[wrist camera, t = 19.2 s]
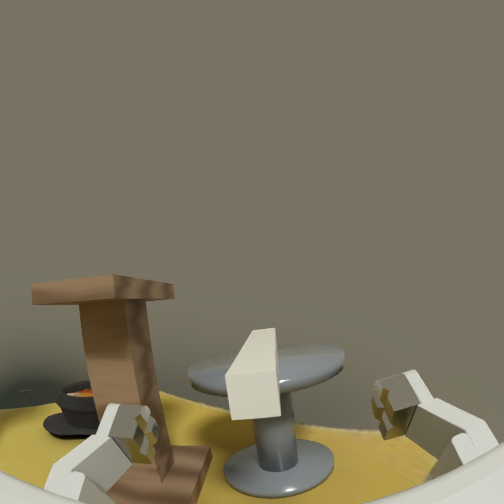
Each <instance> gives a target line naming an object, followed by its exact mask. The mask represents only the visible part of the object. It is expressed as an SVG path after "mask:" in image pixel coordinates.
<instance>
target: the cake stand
mask: <svg viewBox="0 0 504 504" xmlns="http://www.w3.org/2000/svg"><path fill="white" fill-rule="evenodd" d="M277 351H278V368H279V386H280V405H281V416H277V417H267V418H256V419H252V422H253V428H254V435H255V442H256V444H254V445H251V446H249V447H246V448H244V449H242V450H240V451H238V452H236V453H235V454H233V455H232V456H231V457H230V458H229V459H228V460H227V462H226V463H225V466H224V474H225V478H226V481H227V482H228V484H229V485H230V486H231V487H232V488H233V489H235V490H236V491H238V492H240V493H242V494H245V495H248V496H252V497H258V498H270V499H271V498H284V497H290V496H295V495H298V494H302V493H304V492H307V491H309V490H311V489H313V488H315V487H317V486H319V485H320V484H322V483H323V482H324V481H325V480H326V479H327V478H328V477H329V476H330V474H331V473H332V471H333V468H334V457H333V454H332V452H331V450H330V449H329V448H327V447H326V446H324V445H323V444H320V443H318V442H314V441H310V440H303V439H296V433H295V423H294V414H293V405H292V395H291V392H294V391H298V390H302V389H305V388H309V387H312V386H315V385H317V384H320V383H323V382H325V381H327V380H329V379H331V378H333V377H334V376H336V375H337V374H339V373H340V372H341V371H342V370H343V368H344V366H345V362H344V350H343V349H342V348H340V347H337V346H333V345H326V344H297V345H283V346H277ZM239 352H240V351H238V352H233V353H228V354H223V355H219V356H215V357H211V358H208V359H205V360H202V361H199V362H197V363H195V364H193V365H192V366H190V368H189V369H188V374H189V380H190V385H191V386H192V388H194V389H195V390H197V391H199V392H202V393H205V394H209V395H214V396H222V397H228V393H227V387H226V380H225V374H226V373H227V371H228V370H229V368H230V367H231V365H232V363H233V362H234V360H235V359H236V357H237V355H238V354H239Z"/></svg>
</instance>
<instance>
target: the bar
mask: <svg viewBox="0 0 504 504" xmlns="http://www.w3.org/2000/svg"><path fill="white" fill-rule="evenodd" d="M225 380H226V387H227V393H228V400H229V406H230V413H231V419H232V420H243V419H256V418H267V417H277V416H281V405H280V386H279V368H278V351H277V342H276V333H275V328H269V329H261V330H253V331H252V333H251V334H250V336H249V338H248V339H247V341H246V343H245V344H244V346H243V347H242V349H241V351H240V352H239V354H238V355H237V357H236V359H235V360H234V362H233V363H232V365H231V367H230V368H229V370H228V371H227V373H226V374H225Z"/></svg>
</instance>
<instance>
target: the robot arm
mask: <svg viewBox="0 0 504 504" xmlns="http://www.w3.org/2000/svg"><path fill="white" fill-rule="evenodd" d="M374 388H375V390H376V392H375V393H374V394H373V395H372V401H371V402H372V410H373V414H374V416H375V418H376V419H377V420H379V421H380V425H379V429H380V432H381V434H382V437H383V439H384V441H385V440H388V439H392V438H395V437H399V436H402V435H405V434H406V435H405V436H406V437H408V438H409V439H410V440H412V441H413V442H414V443H416V444H417V445H419V446H420V447H421V448H423V449H424V450H426V451H427V452H428V453H430V454H431V455H433V456H434V457H435V458H437V459H438V461H437V462H436V463H435V465H434V466H433V468H432V469H431V471H430V474H431V477H432V480H430V481H427V482H424V483H422V484H419V485H417V486H414V487H412V488H409V489H406V490H404V491H401V492H398V493H395V494H392V495H389V496H386V497H383V498H379V499H376V500H373V501H369V502H365V503H362V504H504V442H502V443H501V444H498V442H497V440H496V439H495V437H494V435H493V434H492V432H491V431H490V429H489V428H488V426H487V424H486V422H485V421H484V420H482V419H480V418H478V417H475V416H473V415H471V414H469V413H467V412H465V411H463V410H461V409H459V408H457V407H454V406H452V405H450V404H448V403H446V402H444V401H442V400H440V399H438V398H436V399H433V397H432V395H431V394H430V392H429V390H428V389H427V387H426V385H425V384H424V382H423V381H422V379H421V377H420V376H419V374H418V373H417V371H416V370H411V371H407V372H404V373H400V374H396V375H393V376H389V377H385V378H382V379H378V380H377V381H376V382H375V385H374ZM150 412H151V411H150V410H149V408H148V406H143V405H128V404H115V403H110V404H109V405H108V406H107V407H106V410H105V412H104V415H103V417H102V420H101V422H100V425H99V427H98V430H97V433H96V435H91V436H90V437H89V438H87V439H86V440H85V441H84V442H82V443H81V444H80V445H78V446H77V447H76V448H74V449H73V450H72V451H70V452H69V453H68V454H66V455H65V456H64V457H63V458H61V459H60V460H59V461H57V462H56V463H55V464H53V466H52V469H51V471H50V474H49V476H48V479H47V482H46V484H45V487H44V489H42V488H39V487H37V486H34V485H32V484H29V483H27V482H25V481H22V480H20V479H18V478H16V477H13V476H11V475H9V474H7V473H5V472H3V471H1V470H0V504H116V503H115V501H114V500H113V499H112V498H110V497H109V496H108V495H107V494H106V492H107V491H108V490H109V489H110V488H111V487H112V486H113V485H114V484H115V483H116V482H117V480H118V479H119V478H120V477H121V476H122V475H123V474H124V473H125V472H126V471H127V469H128V468H129V467H130V466H131V465H132V463H140V464H153V460H154V455H155V449H154V447H153V445H154V444H155V443H156V442H157V441H158V436H159V430H158V425H157V422H156V420H155V419H154V418H153V417H151V416H150Z"/></svg>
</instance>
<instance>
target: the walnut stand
mask: <svg viewBox="0 0 504 504" xmlns="http://www.w3.org/2000/svg"><path fill="white" fill-rule="evenodd" d="M31 290H32V304H33V305H79V310H80V320H81V328H82V336H83V343H84V350H85V356H86V362H87V368H88V374H89V379H90V384H91V389H92V393H93V398H94V402H95V406H96V411H97V415H98V419H99V422H101V420H102V417H103V415H104V412H105V410H106V407H107V406H108V405H109V404H110V403H115V404H128V405H143V406H148V408H149V410H150V411H151V412H150V416H151V417H153V418H154V419H155V420H156V422H157V425H158V430H159V436H158V441H157V442H156V443H155V444H154V445H153V447H154V449H155V455H154V460H153V464H140V463H132V465H131V466H130V467H129V468H128V469H127V471H126V472H125V473H124V474H123V475H122V476H121V477H120V478H119V479H118V480H117V482H116V483H115V484H114V485H113V486H112V487H111V488H110V489H109V490H108V491H107V492H106V494H107V495H108V496H109V497H110V498H112V499H113V500H114V501H115V503H116V504H196V503H197V500H198V497H199V494H200V491H201V489H202V486H203V483H204V480H205V477H206V474H207V471H208V468H209V465H210V462H211V459H212V452H211V448H210V446H171V445H170V441H169V437H168V432H167V428H166V424H165V419H164V414H163V410H162V405H161V400H160V395H159V389H158V384H157V378H156V373H155V367H154V360H153V354H152V347H151V340H150V333H149V327H148V326H149V325H148V317H147V310H146V301H154V300H165V299H174V298H175V297H174V288H173V284H169V283H162V282H156V281H150V280H144V279H138V278H132V277H126V276H120V275H113V274H112V275H103V276H95V277H86V278H78V279H70V280H62V281H53V282H45V283H37V284H31Z"/></svg>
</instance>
